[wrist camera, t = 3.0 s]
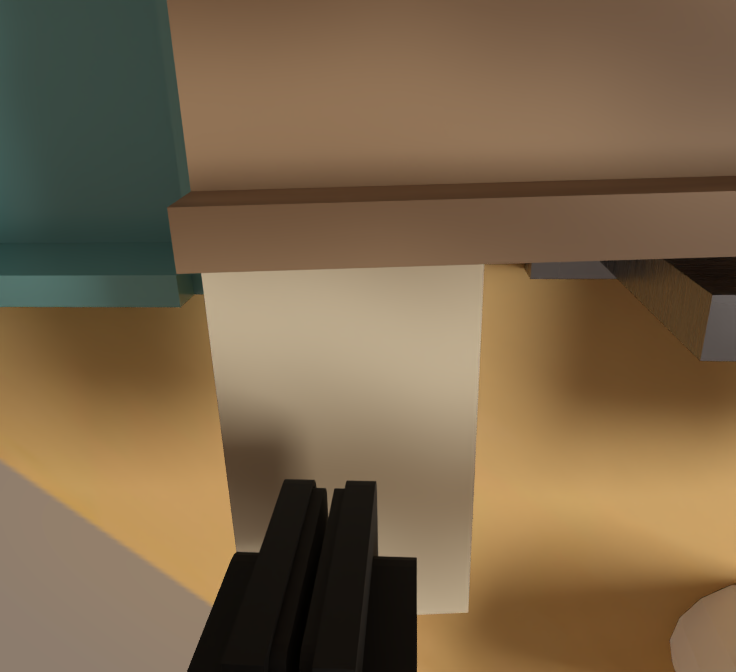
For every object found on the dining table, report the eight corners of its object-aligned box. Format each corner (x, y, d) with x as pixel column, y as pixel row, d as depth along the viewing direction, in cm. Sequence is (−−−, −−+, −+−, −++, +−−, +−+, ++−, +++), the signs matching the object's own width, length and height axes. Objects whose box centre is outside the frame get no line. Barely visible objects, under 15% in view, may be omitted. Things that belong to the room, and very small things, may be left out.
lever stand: (562, -260, 14) (711, -615, 7) (851, -280, 13) (1331, -681, 6) (524, 268, 18) (590, 385, 11) (740, 268, 18) (949, 389, 11)
